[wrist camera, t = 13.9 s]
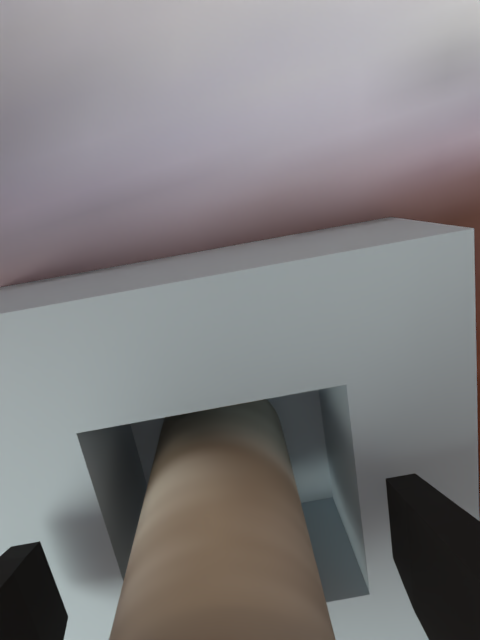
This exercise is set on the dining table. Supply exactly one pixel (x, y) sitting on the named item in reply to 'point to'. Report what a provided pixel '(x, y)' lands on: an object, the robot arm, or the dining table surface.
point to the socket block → (245, 398)
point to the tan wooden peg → (222, 537)
